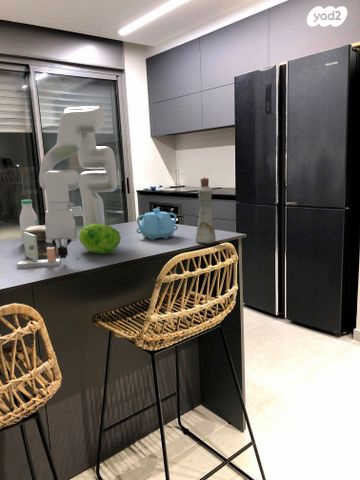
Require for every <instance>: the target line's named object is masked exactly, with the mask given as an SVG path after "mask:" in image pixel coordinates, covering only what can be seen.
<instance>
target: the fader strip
mask: <svg viewBox="0 0 360 480" xmlns="http://www.w3.org/2000/svg"><path fill="white" fill-rule="evenodd" d="M60 264H61V258H56V260H55V261H48V259H39V260H32V259H31V260H23V261H22V260H21V261H19V262H17V264H16V266H17V269H27V268H28V269H29V268H39V267H40V268H41V267H53V266H54V267H56V266H60Z"/></svg>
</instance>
